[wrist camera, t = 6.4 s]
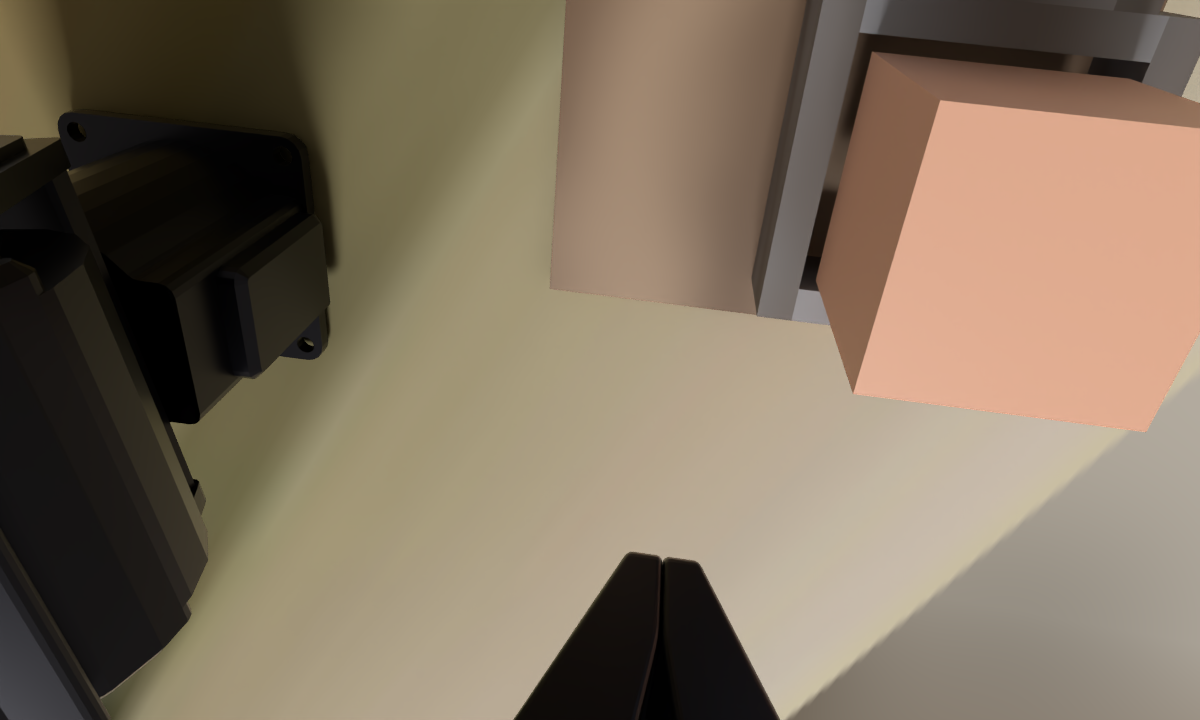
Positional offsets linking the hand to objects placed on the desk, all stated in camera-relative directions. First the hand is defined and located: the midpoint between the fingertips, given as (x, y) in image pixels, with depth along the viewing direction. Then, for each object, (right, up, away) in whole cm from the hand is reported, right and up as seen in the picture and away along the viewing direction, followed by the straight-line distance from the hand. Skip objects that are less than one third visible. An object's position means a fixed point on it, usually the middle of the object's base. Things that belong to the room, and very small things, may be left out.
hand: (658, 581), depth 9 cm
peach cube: (+7, +6, +7) cm, 11 cm away
